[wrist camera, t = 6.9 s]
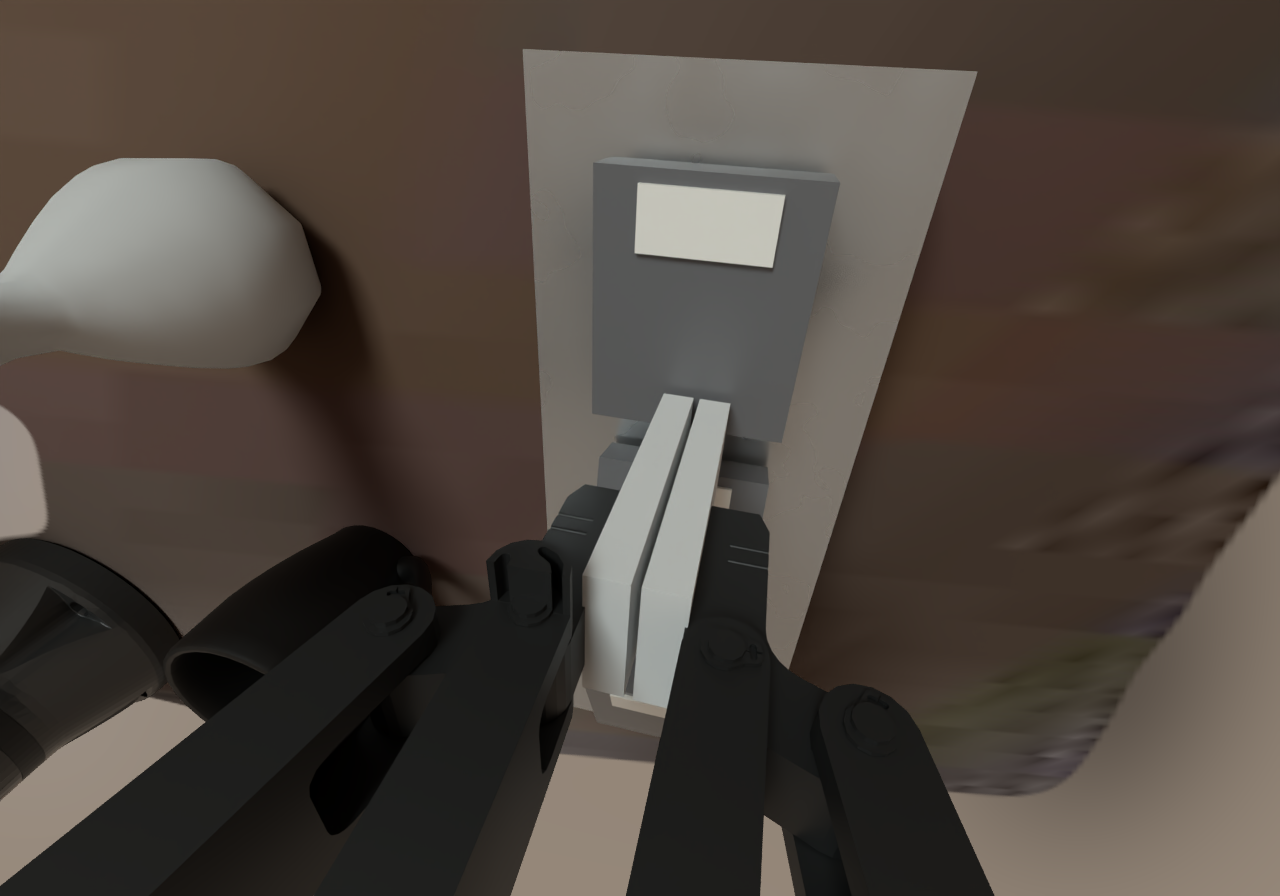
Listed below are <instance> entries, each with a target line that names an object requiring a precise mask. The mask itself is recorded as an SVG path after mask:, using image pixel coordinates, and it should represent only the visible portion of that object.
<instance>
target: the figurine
mask: <svg viewBox="0 0 1280 896" xmlns="http://www.w3.org/2000/svg"><path fill="white" fill-rule="evenodd" d="M320 295H321V284H320V281H319V278H318V275H317V272H316V269H315V265H314V262H313V259H312V256H311V253H310V250H309V247H308V243H307V240H306V237H305V234H304V231H303V228H302V225H301V223H300V222H299V221H297V220H296V219H295V218H294V217H293V216H292V215H291V214H290V213H289V212H287V211H286V210H285V209H284V208H283V207H282V206H281V205H280V204H279V203H278V202H276V201H275V200H274V199H273V198H272V197H271V196H270V195H269V194H268V193H267V192H265V191H264V190H263V189H262V188H261V187H260V186H259V185H258V184H257V183H255V182H254V181H253V180H252V179H251V178H250V177H249V176H248V175H246V174H245V173H244V172H243V171H241V170H240V169H239V168H237V167H236V166H235V165H232V164H229V163H226V162H223V161H220V160H217V159H193V158H120V159H116V160H113V161H109V162H105V163H102V164H98V165H94V166H92V167H90V168H89V169H87V170H85V171H83V172H82V173H80V174H78V175H76V176H75V177H74V178H73V179H72V180H71V181H70V182H68V183H67V184H66V185H65V186H64V187H63V188H62V189H60V190H59V191H58V192H57V193H56V194H55V195H54V196H52V198H51V199H50V200H49V202H48V203H47V204H46V205H45V207H44V208H43V209H42V211H41V212H40V213H39V214H38V216H37V217H36V218H35V220H34V221H33V223H32V224H31V226H30V227H29V229H28V231H27V232H26V234H25V235H24V237H23V239H22V240H21V242H20V243H19V245H18V246H17V248H16V250H15V252H14V253H13V255H12V257H11V259H10V260H9V262H8V264H7V266H6V267H5V269H4V270H3V271H2V272H1V273H0V366H1V365H3V364H6V363H8V362H10V361H12V360H14V359H16V358H21V357H27V356H32V355H38V354H43V353H49V352H54V351H65V352H70V353H75V354H81V355H87V356H93V357H98V358H104V359H110V360H118V361H127V362H135V363H145V364H156V365H167V366H178V367H190V368H238V367H248V366H252V365H255V364H259V363H262V362H266V361H269V360H272V359H273V358H275V357H276V356H278V355H279V354H281V353H282V352H284V351H285V350H287V349H288V347H289V346H290V344H291V343H292V342H293V340H294V339H295V338H296V336H297V335H298V333H299V331H300V329H301V328H302V326H303V324H304V322H305V321H306V319H307V317H308V315H309V314H310V312H311V310H312V309H313V307H314V305H315V303H316V302H317V300H318V298H319V296H320Z"/></svg>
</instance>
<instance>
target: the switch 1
mask: <svg viewBox="0 0 1280 896" xmlns="http://www.w3.org/2000/svg"><path fill="white" fill-rule="evenodd" d="M636 652H637V651H636ZM635 664H636V655H635V658H634V662H633V666H632V669H631V673H630V676H629V680H628V683H627V687H626V690H625V694H624V697H620V696H616V695H612V694H608V693H604V692H600V691H596V690H592V689H588V688H585V689H586V692H587V695H588V698H589V701H590V704H591V706H592V709H593V712H594V715H595V718H596V721H597V722H598V723H602V724H606V725H610V726H615V727H619V728H623V729H627V730H631V731H635V732H639V733H643V734H648V735H652V736H656V737H661V733H662V728H663V724H664V719H665V715H666V710H667V708H664V707H660V706H656V705H652V704H648V703H644V702H640V701H636V700H633V689H634V676H635Z"/></svg>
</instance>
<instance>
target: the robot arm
mask: <svg viewBox="0 0 1280 896" xmlns="http://www.w3.org/2000/svg"><path fill="white" fill-rule="evenodd" d="M693 400H694V398H691V397H685V396H678V395H672V394H665V393H664V394H663V397H662V399H661V401H660V403H659V405H658V408H657V410H656V412H655V414H654V417H653V419H652V421H651V423H650V425H649V428H648V430H647V432H646V434H645V437H644V439H643V441H642V443H641V446H640V448H639V450H638V452H637V454H636V457H635V459H634V461H633V463H632V466H631V468H630V470H629V472H628V475H627V477H626V479H625V481H624V483H623V486H622V488H621V490H615V489H609V488H604V487H598V486H593V485H587V484H585V485H583V486H582V487H580V488H579V489H578V490H576V491H575V492H573V493H572V494H570V495H569V496H568V497H567V499H566V500H565V502H564V504H563V506H562V507H561V509H560V511H559V514H558V516H556V518H555V519H554V521H553V523H552V525H551V528H550V529H549V530H548V531H547V533H546V535H545V537H544V538H543V540H542V541H539V540H524V541H519V542H514V543H510V544H508V545H506V546H504V547H502V548H500V549H498V550H497V551H496V552H495V553H494V554H493V555H492V556H491V557H490V558H489V559H488V560H487V561H486V563H487V572H488V580H489V588H490V596H491V600H489V601H486V602H483V603H477V604H470V605H453V606H435V603H434V600H433V597H432V596H431V595H430V594H429V593H428V592H426V591H425V590H424V589H423V588H420V587H416V586H412V585H391V586H388V587H385V588H382V589H378V590H375V591H373V592H371V593H370V594H368V595H366V596H365V597H363V598H361V599H360V600H358V601H357V602H356V603H354V604H353V605H352V606H351V607H349V608H348V609H347V610H346V611H344V612H343V613H342V614H341V615H339V616H338V617H337V618H336V619H334V620H333V621H332V622H331V623H329V624H328V625H327V626H326V627H324V628H323V629H322V630H321V631H319V632H318V633H317V634H316V635H314V636H313V637H312V638H311V639H309V640H308V641H307V642H306V643H304V644H303V645H302V646H301V647H299V648H298V649H297V650H296V651H294V652H293V653H292V654H291V655H289V656H288V657H287V658H286V659H284V660H283V661H282V662H280V663H279V664H278V665H277V666H275V667H274V668H273V669H272V670H270V671H269V672H268V673H267V674H265V675H264V676H263V677H262V678H260V679H259V680H258V681H257V682H255V683H254V684H253V685H252V686H250V687H249V688H248V689H247V690H245V691H244V692H243V693H242V694H240V695H239V696H238V697H237V698H235V699H234V700H233V701H232V702H230V703H229V704H228V705H227V706H225V707H224V708H223V709H222V710H220V711H219V712H218V713H217V714H215V715H214V716H213V717H212V718H210V719H209V720H208V721H207V722H205V723H204V724H203V725H202V726H200V727H199V728H198V729H197V730H195V731H194V732H193V733H191V734H190V735H189V736H188V737H187V738H185V739H184V740H183V741H181V742H180V743H179V744H178V745H177V746H175V747H174V748H173V749H171V750H170V751H169V752H168V753H166V754H165V755H164V756H163V757H161V758H160V759H159V760H158V761H156V762H155V763H154V764H153V765H151V766H150V767H149V768H148V769H146V770H145V771H144V772H143V773H141V774H140V775H139V776H138V777H136V778H135V779H134V780H133V781H131V782H130V783H129V784H128V785H126V786H125V787H124V788H123V789H121V790H120V791H119V792H118V793H116V794H115V795H114V796H113V797H111V798H110V799H109V800H107V801H106V802H105V803H104V804H102V805H101V806H100V807H99V808H97V809H96V810H95V811H94V812H92V813H91V814H90V815H89V816H88V817H86V818H85V819H84V820H82V821H81V822H80V823H79V824H77V825H76V826H75V827H74V828H72V829H71V830H70V831H69V832H67V833H66V834H65V835H64V836H62V837H61V838H60V839H59V840H57V841H56V842H55V843H54V844H52V845H51V846H50V847H49V848H47V849H46V850H45V851H43V852H42V853H41V854H40V855H38V856H37V857H36V858H35V859H33V860H32V861H31V862H30V863H29V864H27V865H26V866H25V867H23V868H22V869H21V870H20V871H18V872H17V873H16V874H15V875H13V876H12V877H11V878H10V879H8V880H7V881H6V882H5V883H3V884H2V885H1V886H0V896H510V895H511V892H512V889H513V886H514V883H515V881H516V878H517V875H518V872H519V869H520V866H521V863H522V860H523V857H524V855H525V852H526V849H527V846H528V843H529V840H530V837H531V834H532V831H533V828H534V826H535V823H536V820H537V817H538V814H539V811H540V808H541V805H542V802H543V800H544V797H545V794H546V791H547V788H548V785H549V782H550V779H551V777H552V774H553V771H554V768H555V765H556V762H557V759H558V756H559V753H560V751H561V748H562V745H563V742H564V739H565V736H566V733H567V730H568V727H569V724H570V722H571V719H572V713H573V705H574V692H575V689H576V686H577V684H578V681H579V678H580V676H581V673H582V687H584V688H588V689H592V690H596V691H600V692H604V693H608V694H612V695H616V696H620V697H624V694H625V690H626V687H627V683H628V680H629V676H630V673H631V669H632V666H633V662H634V658H635V655H636V664H635V676H634V689H633V700H636V701H640V702H644V703H648V704H652V705H656V706H660V707H664V708H667V710H666V715H665V719H664V724H663V728H662V733H661V737H660V742H659V747H658V751H657V756H656V760H655V765H654V770H653V774H652V779H651V783H650V788H649V792H648V797H647V802H646V806H645V811H644V815H643V820H642V824H641V829H640V834H639V838H638V843H637V847H636V852H635V857H634V861H633V866H632V871H631V875H630V879H629V884H628V889H627V893H626V896H760V885H761V862H762V841H763V840H762V839H763V818H764V815H765V816H766V817H768V818H769V819H771V820H772V821H774V822H775V823H777V824H778V825H780V826H781V827H782V831H783V836H784V841H785V846H786V851H787V856H788V861H789V866H790V871H791V876H792V881H793V886H794V892H795V896H994V894H993V891H992V889H991V887H990V885H989V883H988V880H987V878H986V876H985V874H984V871H983V869H982V867H981V865H980V863H979V860H978V858H977V856H976V854H975V852H974V849H973V847H972V845H971V843H970V840H969V838H968V836H967V834H966V832H965V829H964V827H963V825H962V823H961V821H960V819H959V816H958V814H957V812H956V810H955V808H954V805H953V803H952V801H951V799H950V796H949V794H948V792H947V790H946V787H945V785H944V783H943V781H942V779H941V776H940V774H939V772H938V770H937V767H936V765H935V763H934V761H933V759H932V756H931V754H930V752H929V750H928V748H927V745H926V743H925V741H924V739H923V736H922V734H921V732H920V730H919V728H918V727H917V725H916V724H915V722H914V721H913V719H912V718H911V716H910V715H909V713H908V712H907V711H906V710H905V709H904V708H903V707H902V706H900V705H899V704H898V703H897V702H896V701H895V700H894V699H893V698H891V697H890V696H888V695H886V694H884V693H882V692H880V691H878V690H876V689H874V688H872V687H867V686H862V685H857V684H849V685H843V686H837V687H835V688H834V689H833V690H831V691H830V692H826V691H824V690H822V689H820V688H818V687H817V686H815V685H813V684H811V683H809V682H807V681H805V680H803V679H802V678H800V677H798V676H797V675H795V674H794V673H792V672H791V671H789V670H788V669H787V668H786V667H785V666H784V665H783V664H782V663H781V662H780V661H779V660H778V659H777V657H776V656H775V654H774V653H773V652H772V650H771V648H770V645H769V643H768V640H767V634H766V614H767V589H768V565H769V540H770V532H769V530H768V528H767V527H766V525H765V523H764V521H763V519H762V517H761V515H760V514H754V513H749V512H743V511H738V510H732V509H727V508H721V507H716V506H714V502H715V496H716V491H717V484H718V478H719V472H720V466H721V459H722V453H723V447H724V441H725V434H726V428H727V422H728V416H729V409H730V403H724V402H717V401H711V400H704V399H700V400H699V404H698V407H697V410H696V413H695V417H694V420H693V423H692V426H691V430H690V425H691V417H692V408H693ZM178 641H179V638H178V636H177V634H176V633H175V631H174V630H173V628H172V627H171V625H170V624H169V623H168V622H167V620H166V619H165V618H164V617H163V616H162V614H161V613H160V612H159V611H158V610H157V609H156V608H155V607H154V606H153V605H152V604H151V603H150V602H149V601H148V600H147V599H146V598H144V597H143V596H142V595H141V594H140V593H139V592H138V591H136V590H135V589H134V588H133V587H131V586H130V585H129V584H127V583H126V582H125V581H123V580H122V579H121V578H119V577H118V576H116V575H115V574H113V573H112V572H110V571H109V570H107V569H105V568H104V567H102V566H101V565H99V564H97V563H95V562H94V561H92V560H90V559H88V558H86V557H84V556H82V555H80V554H78V553H76V552H73V551H71V550H69V549H66V548H64V547H61V546H58V545H55V544H52V543H49V542H45V541H41V540H35V539H15V540H11V541H9V542H7V543H5V544H3V545H2V546H0V801H1V800H2V799H3V798H4V797H5V796H6V795H7V794H8V793H10V792H11V791H12V790H13V789H14V788H15V787H16V786H17V785H18V784H19V783H21V781H23V780H24V779H25V778H26V777H27V776H28V775H29V774H30V773H31V772H33V771H34V770H35V769H36V768H37V767H38V766H39V765H41V764H42V763H43V762H44V761H45V760H47V758H49V757H50V756H51V755H52V754H53V753H55V752H56V751H57V750H58V749H60V748H61V747H63V746H64V745H66V744H68V743H69V742H71V741H73V740H75V739H76V738H78V737H80V736H82V735H83V734H85V733H87V732H89V731H90V730H92V729H94V728H95V727H97V726H99V725H100V724H102V723H104V722H105V721H107V720H109V719H110V718H112V717H114V716H115V715H117V714H118V713H120V712H121V711H123V710H124V709H126V708H127V707H129V706H130V705H132V704H133V703H135V702H138V701H142V700H145V699H146V698H148V697H150V696H151V695H153V694H154V693H156V692H157V691H158V690H159V689H161V688H162V687H163V686H164V685H165V684H166V683H167V682H168V681H167V679H166V676H165V674H164V671H163V660H164V658H165V656H166V655H167V653H168V651H169V650H170V648H172V647H173V646H174V645H175V644H176V643H177V642H178ZM636 651H637V652H636Z"/></svg>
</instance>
